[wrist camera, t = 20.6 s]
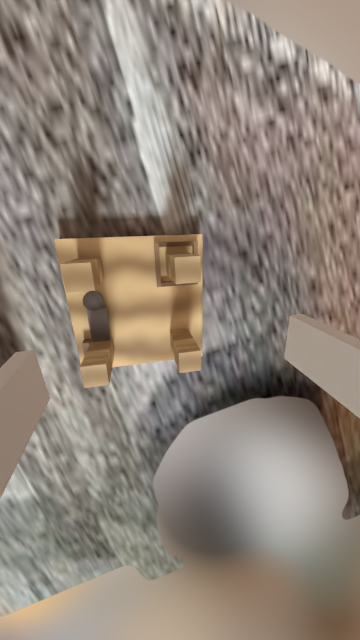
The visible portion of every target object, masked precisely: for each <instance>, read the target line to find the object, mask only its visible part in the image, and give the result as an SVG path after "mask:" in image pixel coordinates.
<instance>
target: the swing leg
mask: <svg viewBox="0 0 360 640" xmlns="http://www.w3.org/2000/svg"><path fill="white" fill-rule="evenodd" d="M103 303H104V298H103V296H102V295H101V294H100V293H99V292H97V291H89V292H87V293H86V294H85V295H84V297H83V305H84V306H85V308H87V309H86V310H87V316H88V322H89V327H90V333H91V339H92V340H91V342H90V345H89V347H88V349H87V352H86V354H85V356H84V359H83V361H82V363H81V366H80V370H81V375H82V380H83V385H84V388H88V387H96V386H104V385H109V383H110V377H111V371H112V365H113V360H114V348H113V341H112V338H111V336H110V329H109V321H108V314H107V307H106V306H102V305H103Z"/></svg>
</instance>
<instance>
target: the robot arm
mask: <svg viewBox="0 0 360 640" xmlns="http://www.w3.org/2000/svg"><path fill="white" fill-rule="evenodd" d="M284 358H285V359H286V360H287V361H288V362H290V363H291V364H292V365H293V366H295V367H296V368H297V369H298V370H300V371H301V372H302V373H303V374H305V375H306V376H307V377H309V378H310V379H311V380H312V381H314V382H315V383H316V384H317V385H319V386H320V387H321V388H322V389H324V390H325V391H326V392H327V393H329V394H330V395H331V396H332V397H334V398H335V399H336V400H337V401H339V402H340V403H341V404H343V405H344V406H345V407H346V408H348V409H349V410H350V411H351V412H353V413H354V414H355V415H356V416H358V417H359V418H360V340H359V339H357V338H355V337H352V336H350V335H348V334H346V333H343V332H341V331H339V330H337V329H335V328H332V327H330V326H328V325H326V324H324V323H321V322H319V321H317V320H315V319H312V318H310V317H308V316H306V315H304V314H297V315H290V319H289V327H288V334H287V342H286V350H285V357H284ZM49 399H50V397H49V394H48V391H47V388H46V385H45V381H44V378H43V375H42V372H41V369H40V366H39V363H38V360H37V357H36V354H35V351H34V350H29V351H21V352H15V353H14V354H13V355H12V356H11V357H10V358H9V359H8V361H7V362H6V363H5V364H4V365H3V366H2V367H1V368H0V498H1V496H2V494H3V492H4V490H5V488H6V486H7V484H8V482H9V480H10V478H11V476H12V474H13V472H14V470H15V468H16V466H17V464H18V462H19V460H20V458H21V456H22V454H23V452H24V449H25V447H26V445H27V443H28V441H29V439H30V437H31V435H32V433H33V431H34V429H35V427H36V425H37V423H38V421H39V419H40V417H41V415H42V413H43V411H44V409H45V407H46V405H47V403H48V401H49Z"/></svg>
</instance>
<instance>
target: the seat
mask: <svg viewBox="0 0 360 640" xmlns="http://www.w3.org/2000/svg"><path fill="white" fill-rule="evenodd" d="M54 241H55V246H56V250H57V255H58V260H59V264H60V269H61V274H62V278H63V283H64V288H65V292H66V297H67V302H68V306H69V311H70V316H71V320H72V325H73V330H74V334H75V339H76V344H77V348H78V353H79V357H80V362H81V363H82V361H83V359H84V356H85V354H86V352H87V349H88V347H89V345H90V342H91V340H92V339H91V333H90V327H89V322H88V316H87V310H86V309H87V308H85V306H84V305H83V297H84V295H85V294H86V293H87V292H89V291H97V292H99V293H100V294H101V295H102V296H103V298H104V303H103V305H102V306H106V307H107V314H108V321H109V329H110V336H111V338H112V341H113V348H114V360H113V365H112V367H119V366H127V365H135V364H142V363H150V362H158V361H166V360H174V359H175V361H176V364H177V367H178V370H179V373H184V372H191V371H198V370H201V356H202V234H191V235H161V236H132V237H103V238H74V239H54ZM180 252H187V253H191V254H195V255H199V256H200V257H201V282H196V283H185V284H175V283H174V282H173V280H172V279H171V278H170V277H169V276H168V275H167V270H166V255H165V253H180Z"/></svg>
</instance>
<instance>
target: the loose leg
mask: <svg viewBox="0 0 360 640" xmlns="http://www.w3.org/2000/svg"><path fill="white" fill-rule="evenodd" d="M165 255H166V270H167V275H168V276H169V277H170V278H171V279H172V280H173V282H174V283H175V284H185V283H196V282H201V257H200V256H199V255H195V254H191V253H187V252H180V253H165Z"/></svg>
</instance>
